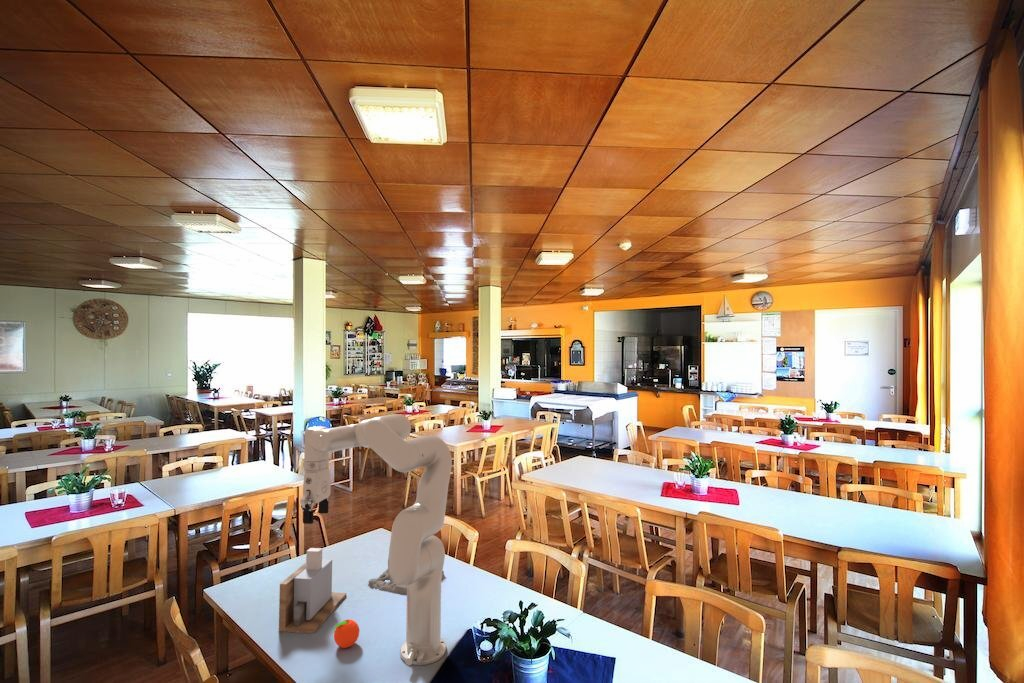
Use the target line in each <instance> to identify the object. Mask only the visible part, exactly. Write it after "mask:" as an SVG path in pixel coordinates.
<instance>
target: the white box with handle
mask: <svg viewBox="0 0 1024 683" xmlns="http://www.w3.org/2000/svg"><path fill="white" fill-rule="evenodd" d="M305 556H306V562H305V563H306V569H304V570H303V571H302V572H301V573H300V574H299V575H297V576H296V577H295V578H294V606H295V605H297V604H298V603H299V602H300V601H301V602H307V609H306V620H311V619H312V617H313V616H314V615H315V614H316V613H317V612H318V611H319V610H320V609H321V608H322V607H323V606H324V605H325V604H326V602H327V601H328V600H329V599H330V598H331V597H332V591H333V588H332V587H333V586H332V585H333V559H330V558H329V559H327V558H323V548H321V547H310V548H308V549H307V550H306V555H305ZM293 619H294V611H293Z"/></svg>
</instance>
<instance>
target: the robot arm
mask: <svg viewBox="0 0 1024 683" xmlns="http://www.w3.org/2000/svg"><path fill="white" fill-rule="evenodd" d="M411 431H412V425H411V422H410V420H409V419H408V418H407V417H406V416H404V415H402V414H398V413H397V414H396V413H395V414H394V413H393V414H389V415H382V416H376V417H372V418H369V419H364V420H361V421H360V422H359V423H355V424H348V425H343V426H335V427H330V428H329V427H327V426H320V425H319V426H309V427H308V428H306V429H305V431H304V445H303V447H304V450H303V451H304V454H303V455H304V456H303V459H304V460H303V462H304V463H303V471H304V476H303V485H302V486H303V487H302V496H301V498H300V500H299V501H300V507H301V510H302V511H301V512H302V523H303V524H305V525H306V524H311V525H312V524H314V510H313V508H314V505H315V504H318V511H317V512H318V514H329V501H330V497H331V496H330V495H331V492H332V491H331V486H332V485H331V473H330V453H334V452H339V451H342V450H348V449H353V448H358V447H363V448H368V449H369V448H370V449H371V450H373V451H374V453H375V454H377V455H378V456H379V457H380V458H381V459H382V460H383V461H385V463H386V464H388V466H390V467H391V469H393V470H395V471H397V472H399V473H409V472H413V471H415V470H418V469H421V468H422V469H423V468H424V470H423V472H422V474H421V476H420V479H419V481H418V484H417V493H416V499H415V502H414V504H412V505H411V506H408V507H406V508H405V509H402V510H401V511H400V512H399V513H398V514H397V515H396V516H395V518H394V520H393V523H392V526H391V531H390V532H391V533H390V541H389V548H388V557H387V569H388V572H389V576H390V578H391V580H392V581H393V582H394V583H395V584H396V585H398V586H401V587H405V586H407V595H406V622H405V623H406V624H405V625H406V627H405V629H406V630H405V632H406V638H405V639H406V640H405V641H404V642H403V643H402V645H401V646H400V650H399V651H400V652H399V654H400V657H401V659H402V661H404V662H405V664H406V665H407V666H412V665H413V666H426V665H430V664H432V663H435V662H437V661H438V660H440V659H441V658H443V656H444V655H445V653H446V651H447V649H446V648H447V643H446V641H445V640H444V638H442V637H441V628H442V627H441V625H442V622H441V618H442V610H441V609H442V580H443V578H442V571H444V564H445V557H446V552H445V551H446V550H445V545H444V544H443V542H442V540H441V539H440V538H439V537H437V535H435V534H437V533H438V532H439V531H440V530H442V528H443V526H444V523H445V518H446V517H445V516H446V508H447V502H448V493H449V492H448V491H449V484H450V479H451V473H452V468H453V467H452V465H453V457H452V453H451V451H450V449H449V447H448V444H447V443H446V442H445V441H444V440H443V439H442V438H440V437H438V436H436V435H430V434H429V435H422V436H417V437H414V438H413V437H412V438H409V439H407V438H408V437H409V436H410V434H411Z"/></svg>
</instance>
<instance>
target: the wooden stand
mask: <svg viewBox="0 0 1024 683" xmlns="http://www.w3.org/2000/svg"><path fill="white" fill-rule="evenodd" d="M304 569H306V562H305V563H303V564H302V565H301V566H300V567H299V568H297V569H296V570H295V571H293V572H292V573H291V574H289V576H288V577H287V578H285V579H284V580H283V581H282V582H280V583H279V601H278V602H279V603H278V604H279V605H278V607H279V608H278V609H279V610H278V632H283V633H284V632H288V633H299V634H300V633H302V634H315V632H316V631H317V630H318V629H319V628H320V626H321V625H323V623H324V622H325V621H326V620H327V619H328V617H329V616H331V614H333V612H334V611H335V609H337V608H338V606H339V605H340V604H341V602H343V600H344V599H345V598H346V597H347V593H346V592H334V591H333V592H332V597H331V598H330V599H329V600H328V601H327V602H326V604H325V605H324V606H323V607H322V608H321V609H320V610H319V611H318V612H317V613H316V614H315V615H314V616H313V617H312V619H311V620H306V609H307V602H301V601H300V602H299V603H298V604H297V605H295V606H294V578H295V577H296V576H297V575H299V574H300V573H301V572H302V571H303V570H304ZM293 611H294V619H293Z"/></svg>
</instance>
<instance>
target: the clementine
mask: <svg viewBox="0 0 1024 683" xmlns="http://www.w3.org/2000/svg"><path fill="white" fill-rule="evenodd" d="M332 633H333V640H334V642H335V645H337V646H338V647H340V648H342V649H345V648H346V649H347V648H350V647H351V646H353V645H354V644H355V643H356V642H357V641H358V639H359V636H360V627H359V623H357V622H356V621H355V620H352V619H351V618H350V619H347V618H346V619H344V620H342V621H341V622H339V623H338V624H336V625H335V626H334V627H333V629H332V631H331V633H330V635H332Z"/></svg>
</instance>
